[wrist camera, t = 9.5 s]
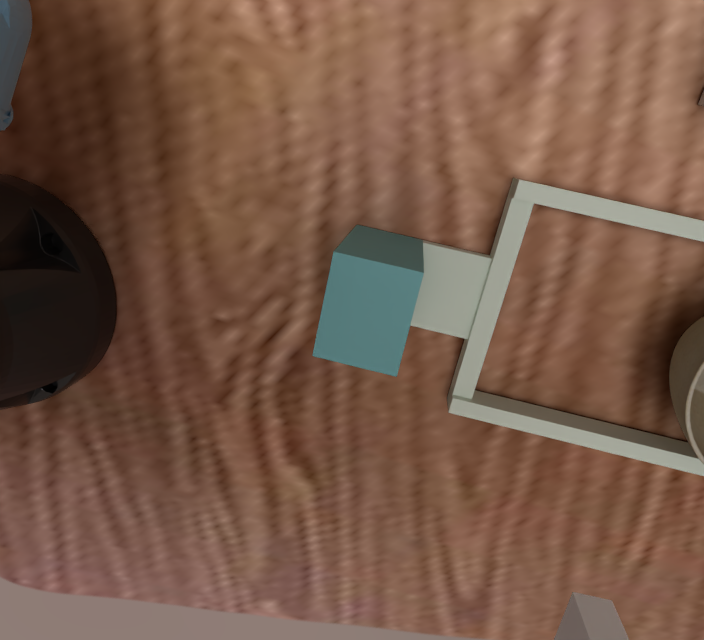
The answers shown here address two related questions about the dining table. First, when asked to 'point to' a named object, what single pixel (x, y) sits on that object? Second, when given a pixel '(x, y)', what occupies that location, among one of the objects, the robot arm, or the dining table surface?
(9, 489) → the dining table surface
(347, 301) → the frame
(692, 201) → the dining table surface
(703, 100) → the open frame with post
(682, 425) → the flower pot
